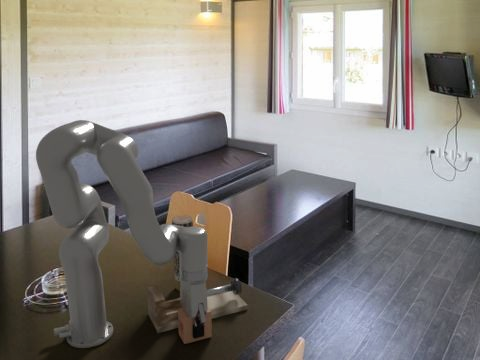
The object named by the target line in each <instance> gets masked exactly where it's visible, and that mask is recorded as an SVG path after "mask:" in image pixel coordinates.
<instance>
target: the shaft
mask: <svg viewBox="0 0 480 360" xmlns="http://www.w3.org/2000/svg"><path fill="white" fill-rule="evenodd" d="M231 291H233V293H234V294H235V295H240V294H241V295H242V283H241V281H240V279H239V278H238V277H235V278H232V279H231V281H230V284H226V285H222V286H217V287H213V288H208V289H207V297H210V296H214V295H218V294H223V293H227V292H231Z"/></svg>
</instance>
